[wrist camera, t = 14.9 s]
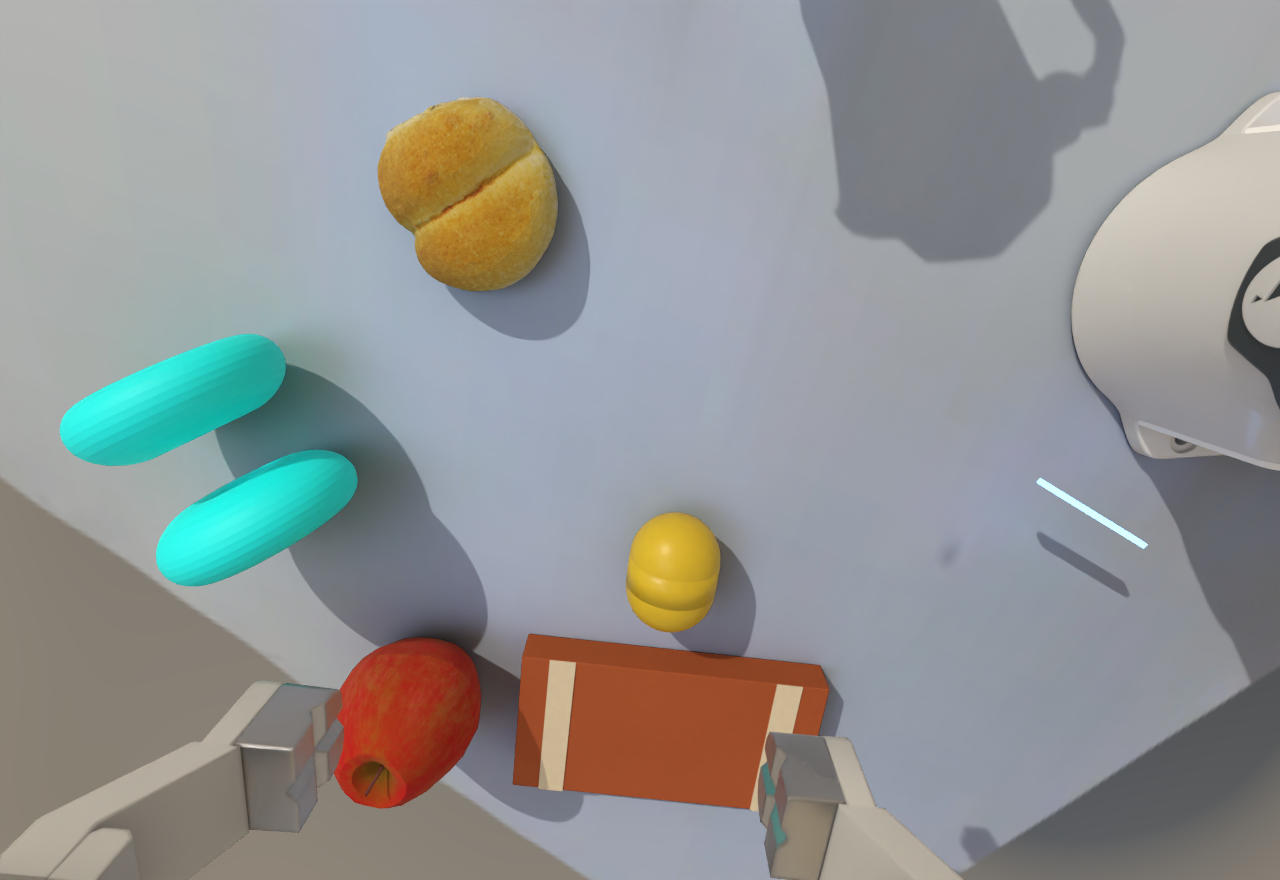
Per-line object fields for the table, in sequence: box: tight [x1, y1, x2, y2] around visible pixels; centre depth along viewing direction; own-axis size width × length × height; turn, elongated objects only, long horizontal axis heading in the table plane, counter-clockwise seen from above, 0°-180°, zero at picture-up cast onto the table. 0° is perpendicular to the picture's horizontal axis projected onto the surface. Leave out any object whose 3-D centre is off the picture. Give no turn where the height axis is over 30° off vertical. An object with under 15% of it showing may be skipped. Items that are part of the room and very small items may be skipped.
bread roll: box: [378, 97, 558, 291], centre depth 33 cm, size 8×9×4 cm
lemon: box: [626, 512, 721, 632], centre depth 38 cm, size 7×5×5 cm
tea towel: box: [513, 634, 829, 811], centre depth 43 cm, size 19×10×2 cm, turn 83°
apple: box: [334, 637, 481, 808], centre depth 38 cm, size 8×8×11 cm
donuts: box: [60, 334, 358, 586], centre depth 34 cm, size 10×10×10 cm
